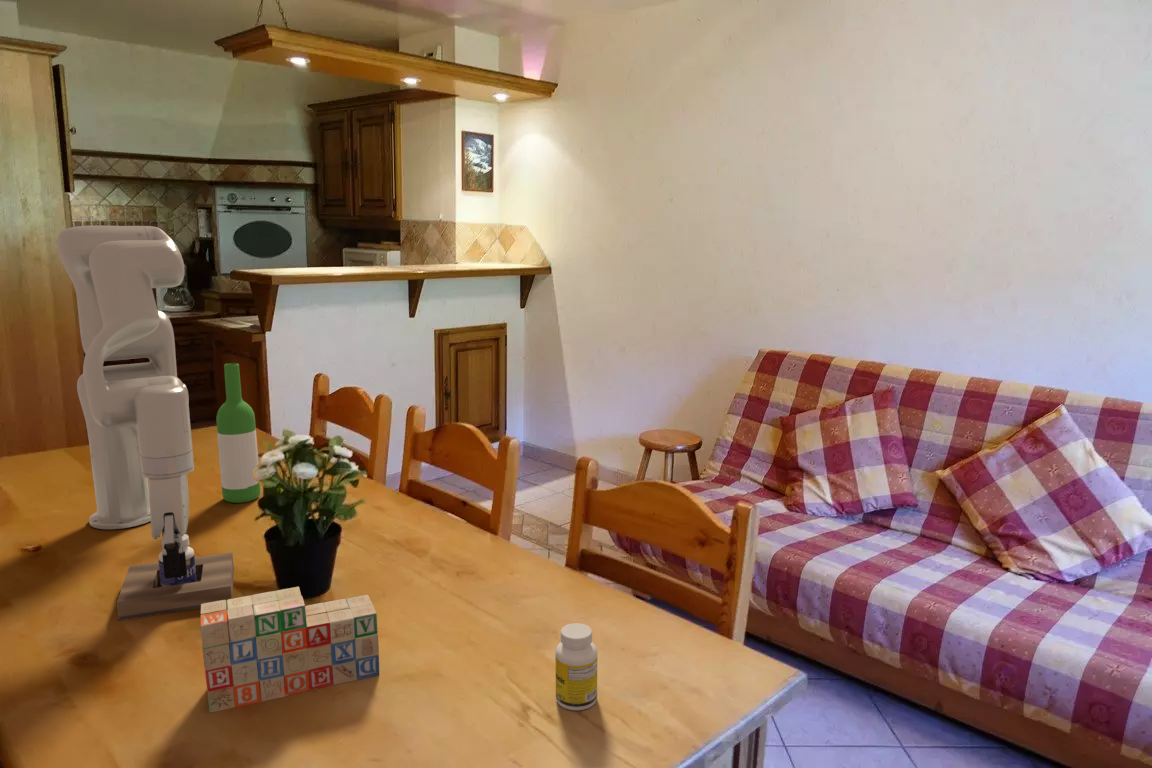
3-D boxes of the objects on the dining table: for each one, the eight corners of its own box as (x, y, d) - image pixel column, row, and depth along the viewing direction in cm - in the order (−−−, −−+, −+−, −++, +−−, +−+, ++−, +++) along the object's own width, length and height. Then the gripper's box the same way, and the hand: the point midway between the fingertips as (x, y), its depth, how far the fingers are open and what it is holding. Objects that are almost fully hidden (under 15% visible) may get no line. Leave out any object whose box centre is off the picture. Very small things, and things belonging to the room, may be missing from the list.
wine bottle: (268, 496, 178) (258, 363, 172) (237, 506, 171) (226, 368, 165) (246, 490, 182) (236, 359, 176) (215, 499, 175) (203, 364, 169)
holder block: (131, 582, 136) (129, 565, 135) (233, 568, 142) (232, 552, 141) (118, 620, 123) (116, 602, 123) (232, 603, 129) (230, 586, 128)
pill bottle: (182, 597, 129) (178, 545, 128) (154, 594, 130) (149, 542, 129) (204, 583, 135) (199, 533, 133) (176, 580, 136) (171, 530, 134)
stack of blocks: (371, 653, 115) (368, 573, 112) (380, 676, 109) (376, 592, 107) (207, 688, 106) (199, 602, 104) (208, 714, 101) (199, 624, 98)
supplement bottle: (554, 688, 107) (554, 620, 105) (594, 686, 107) (595, 619, 105) (556, 713, 101) (556, 642, 99) (599, 711, 102) (600, 640, 100)
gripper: (147, 450, 134) (157, 551, 138) (133, 481, 119) (145, 594, 122) (196, 446, 137) (205, 544, 141) (189, 476, 121) (200, 586, 125)
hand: (177, 567), depth 132 cm, fingers open, 6 cm apart
